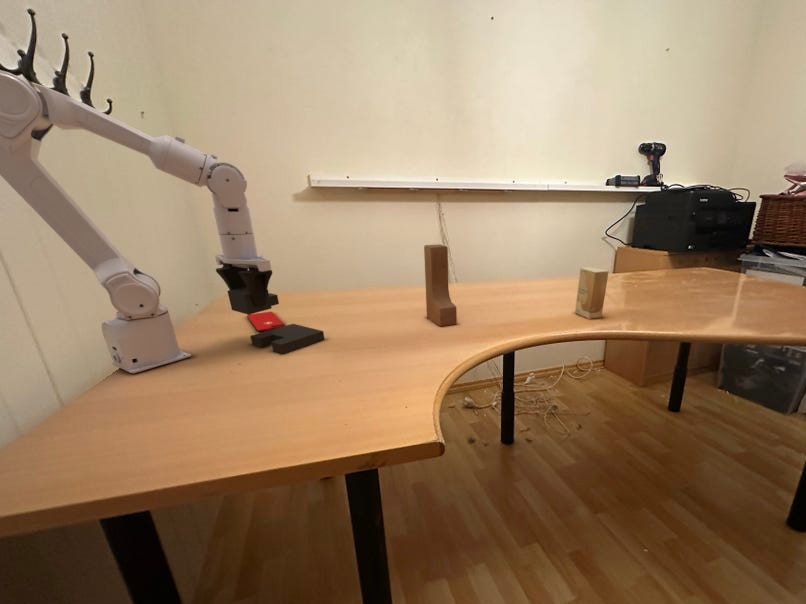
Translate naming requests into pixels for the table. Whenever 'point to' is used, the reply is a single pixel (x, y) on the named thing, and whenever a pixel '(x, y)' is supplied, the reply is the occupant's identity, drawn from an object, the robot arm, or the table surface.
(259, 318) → the electronic device
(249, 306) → the pad
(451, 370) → the table surface
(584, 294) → the cosmetic box
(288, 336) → the base pad
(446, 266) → the wooden block
